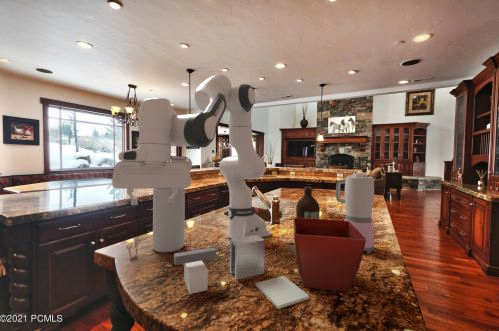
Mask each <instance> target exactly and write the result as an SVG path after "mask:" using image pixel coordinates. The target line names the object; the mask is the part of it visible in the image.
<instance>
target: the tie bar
mask: <svg viewBox="0 0 499 331" xmlns="http://www.w3.org/2000/svg"><path fill="white" fill-rule="evenodd" d="M211 259H217V249H216V248H215V247H206V248H201V249H196V250H195V249H194V250H189V251H182V252H177V253H173V263H174V265H175V266H178V265H184V264H185V263H191V262H196V261H202V262H203V261H206V260H207V261H208V260H211Z"/></svg>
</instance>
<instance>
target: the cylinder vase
mask: <svg viewBox="0 0 499 331" xmlns="http://www.w3.org/2000/svg"><path fill="white" fill-rule="evenodd" d="M185 191H186V188H178V193H177V194H176V196H175V197H174V204H168V197H171V196H172V195H173V193H174V192H173V191H172V188H152V205H153V206H152V249H153V250H154V251H155V252H158V253H172V252H177V251H179V250H181V249H182V248H184V246H185V220H186V219H185V218H186V216H185V209H186V208H185V205H186V203H185V202H186V200H185V199H186V198H185V197H186V195H185V194H186V192H185Z"/></svg>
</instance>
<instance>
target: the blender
mask: <svg viewBox="0 0 499 331" xmlns="http://www.w3.org/2000/svg"><path fill="white" fill-rule="evenodd" d="M376 179H377V178H374V177H372V176H367V173H352V175H347V176H346V177H345V179H339V180H338V181H337V182H336V186H335V190H336V191H335V198H336V199H335V200H336V201H337V202H338V203H341V204H345V212H346V215H345V218H344V220H343V221H350V222H351V223H352V224H353V225H354V227H355V228H356V229H357V230H358V231H359V232H360V233H361V234H362V235H363V236H364V237H365V238H366V243H365V248H364V252H366V254H371V253H372V251H373V250H374V249H375V224H374V222H373V220H372V212H373V207H374V201H375V180H376ZM342 184H344V198H341V185H342Z"/></svg>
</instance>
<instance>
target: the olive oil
mask: <svg viewBox="0 0 499 331" xmlns="http://www.w3.org/2000/svg"><path fill="white" fill-rule="evenodd" d="M312 189H313V187H311V186H305V187H304V190H303V191H304V192H303V193H304V194H303V196H302V197H301V198H300V199H298V201H297V203H296V206H295V212H296V216H295V218H310V219H320V212H321V211H320V210H321V208H320V204H319V202H318V201H317V200H316V198H315V197H313V190H312Z"/></svg>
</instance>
